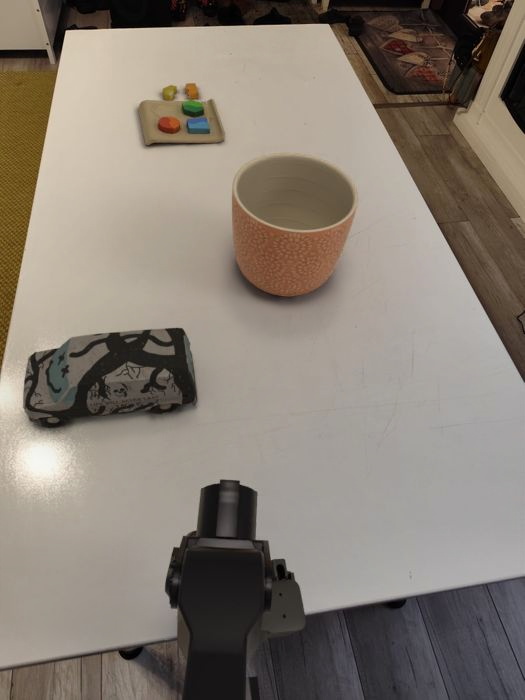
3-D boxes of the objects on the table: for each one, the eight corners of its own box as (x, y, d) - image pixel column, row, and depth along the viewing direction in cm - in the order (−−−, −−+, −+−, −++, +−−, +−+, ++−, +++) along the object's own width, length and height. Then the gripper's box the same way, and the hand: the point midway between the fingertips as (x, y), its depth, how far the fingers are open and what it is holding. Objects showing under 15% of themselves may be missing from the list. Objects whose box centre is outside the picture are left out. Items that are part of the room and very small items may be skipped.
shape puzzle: (226, 143, 124) (226, 129, 121) (145, 148, 120) (144, 135, 117) (207, 88, 138) (207, 75, 135) (135, 91, 134) (133, 78, 132)
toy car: (36, 372, 83) (17, 333, 75) (191, 356, 87) (189, 318, 79) (31, 431, 77) (10, 397, 69) (199, 411, 81) (197, 376, 73)
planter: (214, 246, 103) (215, 161, 88) (309, 226, 108) (326, 144, 93) (251, 324, 92) (259, 243, 77) (354, 298, 98) (381, 218, 82)
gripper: (327, 712, 44) (301, 715, 57) (286, 500, 55) (272, 542, 68) (195, 738, 43) (199, 736, 55) (180, 514, 53) (186, 554, 66)
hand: (219, 633), depth 61 cm, fingers closed
